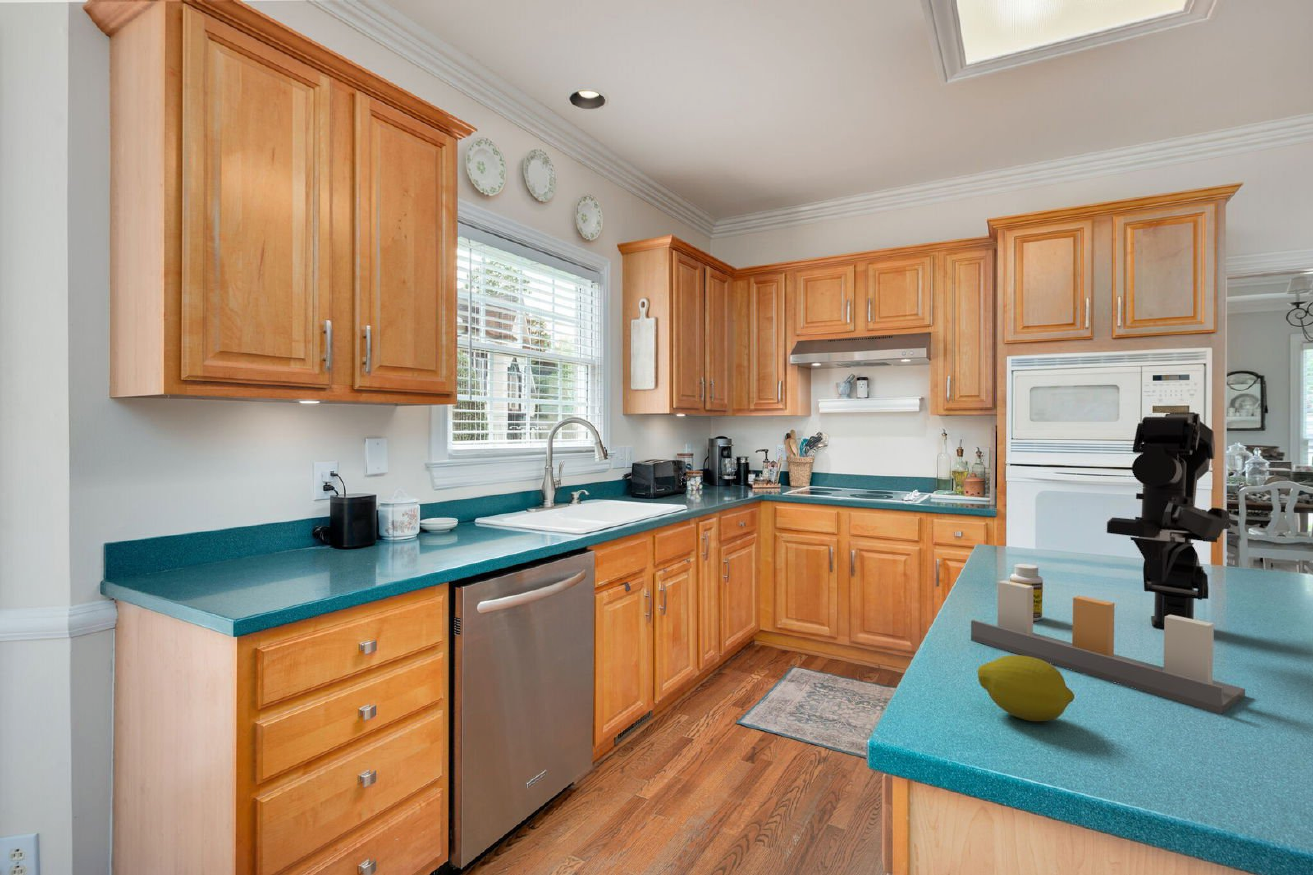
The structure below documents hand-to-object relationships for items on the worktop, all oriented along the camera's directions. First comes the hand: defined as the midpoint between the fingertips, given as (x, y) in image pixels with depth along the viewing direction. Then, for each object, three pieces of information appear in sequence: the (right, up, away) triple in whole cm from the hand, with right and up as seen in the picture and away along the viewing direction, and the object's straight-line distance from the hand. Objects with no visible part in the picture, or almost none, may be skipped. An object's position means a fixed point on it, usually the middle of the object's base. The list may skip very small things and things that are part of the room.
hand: (1160, 581), depth 108 cm
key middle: (-17, -10, -7) cm, 21 cm away
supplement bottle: (-13, -11, +17) cm, 24 cm away
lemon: (-38, -12, -25) cm, 47 cm away
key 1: (-23, -10, +3) cm, 25 cm away
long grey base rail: (-17, -12, -7) cm, 22 cm away
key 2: (-10, -11, -17) cm, 23 cm away
